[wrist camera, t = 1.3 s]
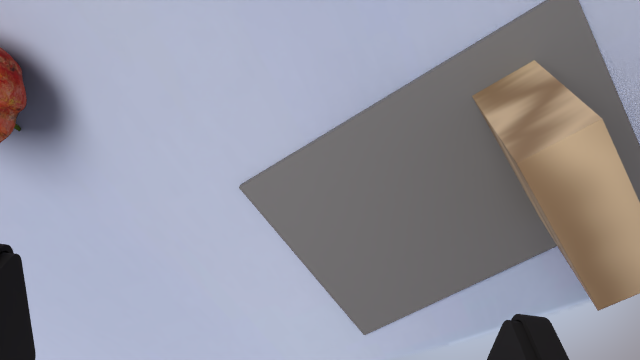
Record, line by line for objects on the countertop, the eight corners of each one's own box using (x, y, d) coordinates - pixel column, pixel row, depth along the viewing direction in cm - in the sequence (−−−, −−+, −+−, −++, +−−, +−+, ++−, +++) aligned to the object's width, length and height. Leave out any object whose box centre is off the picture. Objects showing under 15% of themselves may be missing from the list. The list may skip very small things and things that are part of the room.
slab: (534, 60, 35) (602, 118, 26) (598, 192, 40) (673, 278, 31) (471, 95, 36) (516, 163, 27) (541, 219, 41) (598, 310, 32)
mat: (570, -15, 33) (572, -14, 33) (658, 194, 40) (661, 197, 40) (239, 185, 40) (239, 187, 40) (364, 331, 48) (364, 335, 47)
